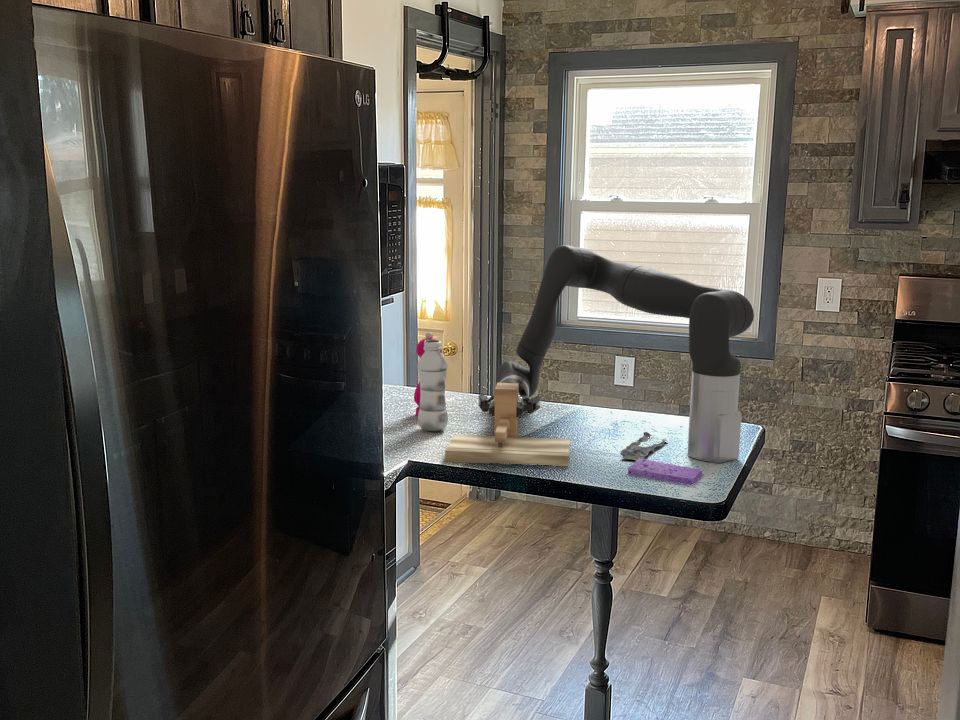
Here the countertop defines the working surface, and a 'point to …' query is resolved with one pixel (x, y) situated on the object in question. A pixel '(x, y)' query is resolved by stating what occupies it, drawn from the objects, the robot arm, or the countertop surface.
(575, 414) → the countertop surface
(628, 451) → the driftwood
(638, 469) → the sponges
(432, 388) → the plastic bottle
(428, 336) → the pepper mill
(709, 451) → the robot arm
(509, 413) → the block
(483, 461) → the pine board
